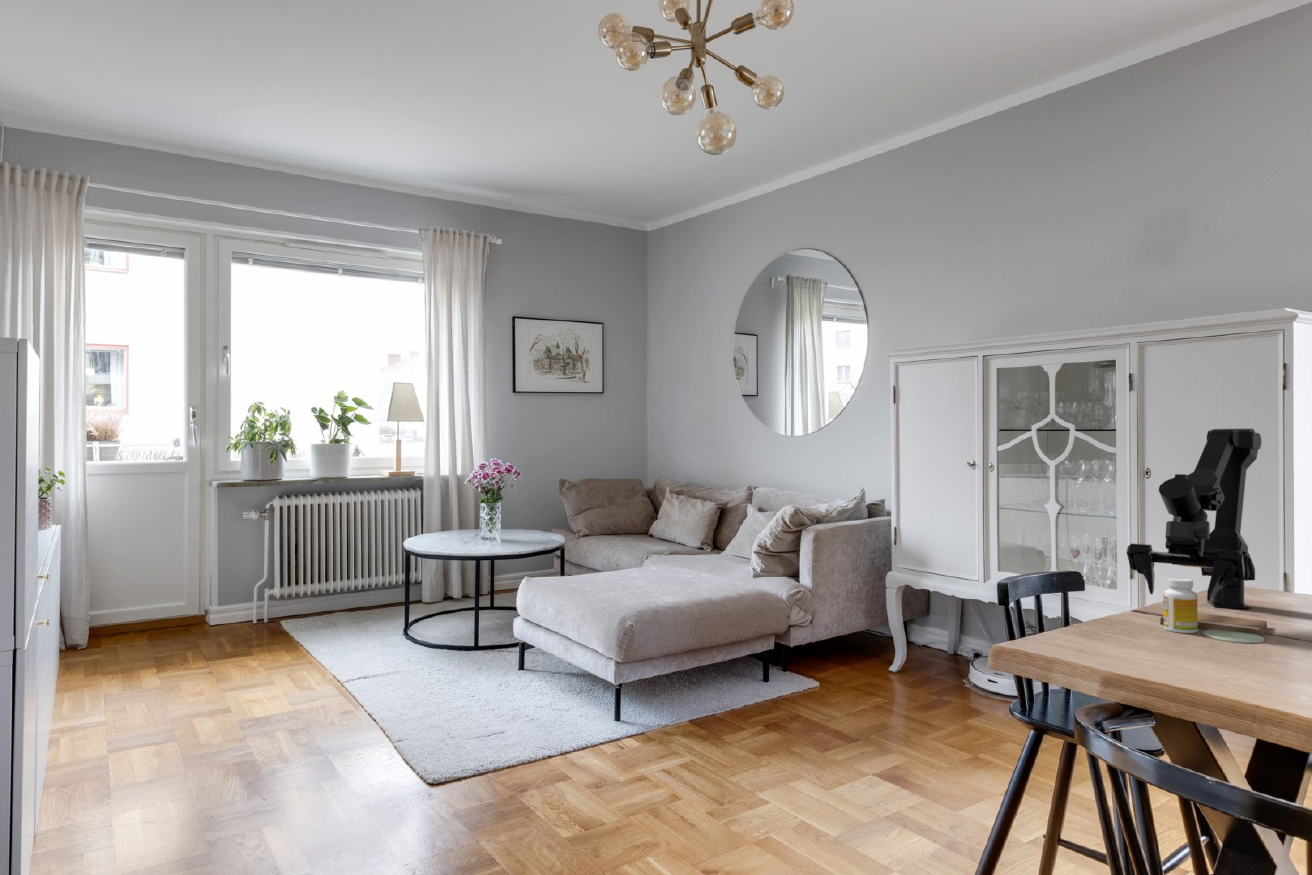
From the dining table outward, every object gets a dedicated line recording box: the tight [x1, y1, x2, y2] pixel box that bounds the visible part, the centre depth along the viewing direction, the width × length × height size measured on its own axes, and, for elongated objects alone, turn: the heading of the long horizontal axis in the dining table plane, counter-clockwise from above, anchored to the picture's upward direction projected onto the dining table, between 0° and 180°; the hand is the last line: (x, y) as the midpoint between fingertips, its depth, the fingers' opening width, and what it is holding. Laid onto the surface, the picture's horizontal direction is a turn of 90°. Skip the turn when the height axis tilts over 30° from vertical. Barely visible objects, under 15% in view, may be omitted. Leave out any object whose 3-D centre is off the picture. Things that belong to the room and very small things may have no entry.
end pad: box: [1203, 629, 1265, 644], centre depth 147 cm, size 9×9×1 cm
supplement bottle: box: [1163, 577, 1199, 634], centre depth 152 cm, size 5×5×10 cm
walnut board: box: [1159, 612, 1268, 637], centre depth 156 cm, size 16×10×1 cm, turn 48°
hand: (1179, 595), depth 151 cm, fingers open, 9 cm apart
